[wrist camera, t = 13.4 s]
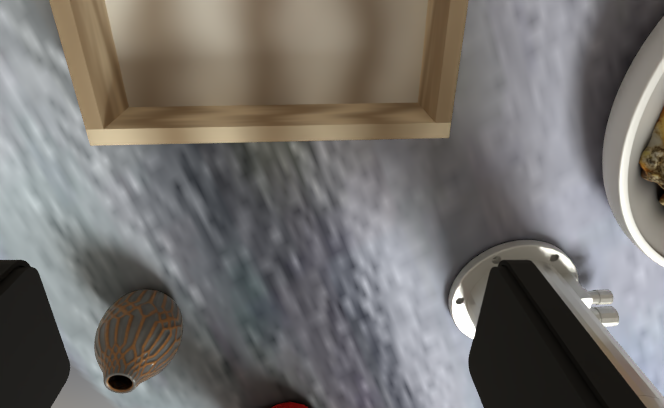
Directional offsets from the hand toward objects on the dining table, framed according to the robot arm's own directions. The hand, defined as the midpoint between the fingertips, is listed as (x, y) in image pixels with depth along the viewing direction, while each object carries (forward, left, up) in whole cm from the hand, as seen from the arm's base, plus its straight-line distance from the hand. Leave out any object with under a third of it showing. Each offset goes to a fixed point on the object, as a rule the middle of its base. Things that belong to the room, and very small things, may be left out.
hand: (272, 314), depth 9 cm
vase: (+14, +22, -26) cm, 37 cm away
